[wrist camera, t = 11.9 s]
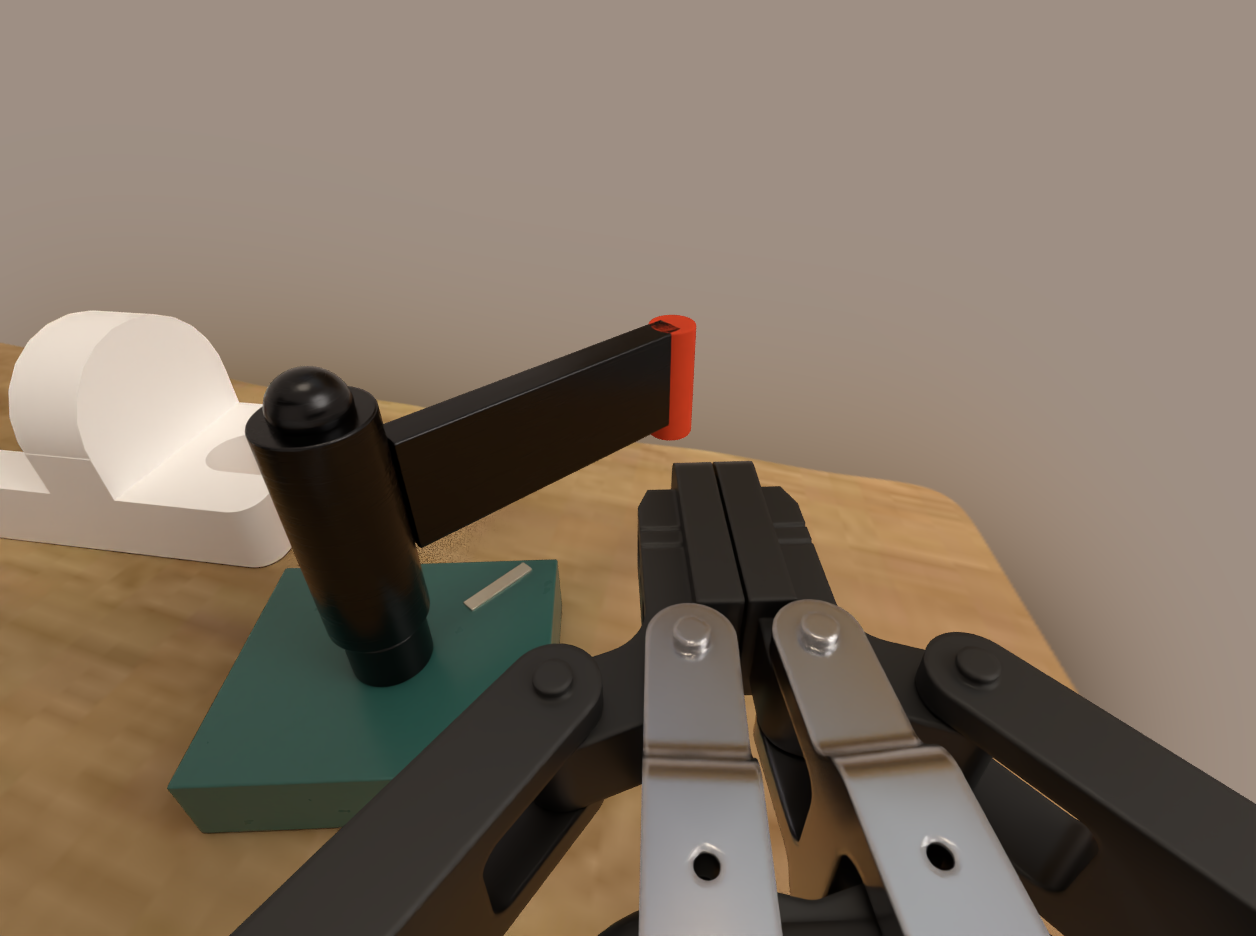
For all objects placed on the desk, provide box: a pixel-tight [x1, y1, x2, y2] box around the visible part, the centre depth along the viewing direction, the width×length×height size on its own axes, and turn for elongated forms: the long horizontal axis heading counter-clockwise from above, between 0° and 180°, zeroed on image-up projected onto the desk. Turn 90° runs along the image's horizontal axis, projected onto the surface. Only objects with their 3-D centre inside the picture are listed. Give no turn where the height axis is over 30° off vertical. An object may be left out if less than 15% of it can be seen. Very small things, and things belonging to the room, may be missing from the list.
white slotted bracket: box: [0, 310, 292, 567], centre depth 35 cm, size 10×18×11 cm, turn 81°
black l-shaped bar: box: [245, 315, 696, 653], centre depth 25 cm, size 17×4×10 cm, turn 131°
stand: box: [167, 559, 562, 833], centre depth 26 cm, size 12×10×5 cm
